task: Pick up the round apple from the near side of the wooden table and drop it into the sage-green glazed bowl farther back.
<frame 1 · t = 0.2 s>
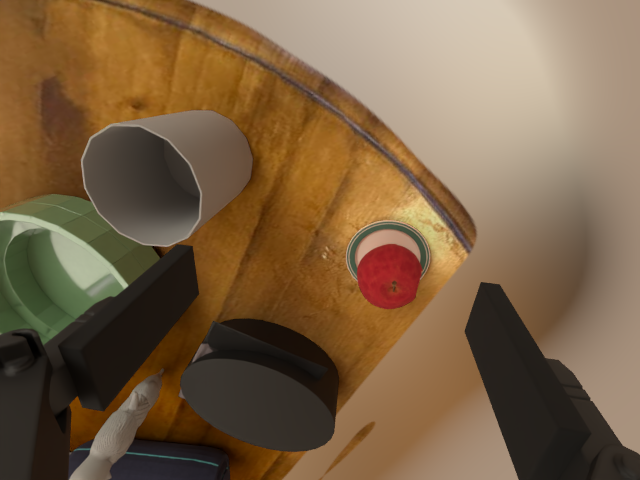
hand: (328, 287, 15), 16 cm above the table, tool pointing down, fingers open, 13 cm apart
bowl: (95, 275, 39), on the table
tape dispenser: (274, 360, 41), on the table
cup: (210, 157, 31), on the table
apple: (386, 254, 32), on the table
portable speaker: (167, 446, 53), on the table
figurine: (164, 371, 45), on the table
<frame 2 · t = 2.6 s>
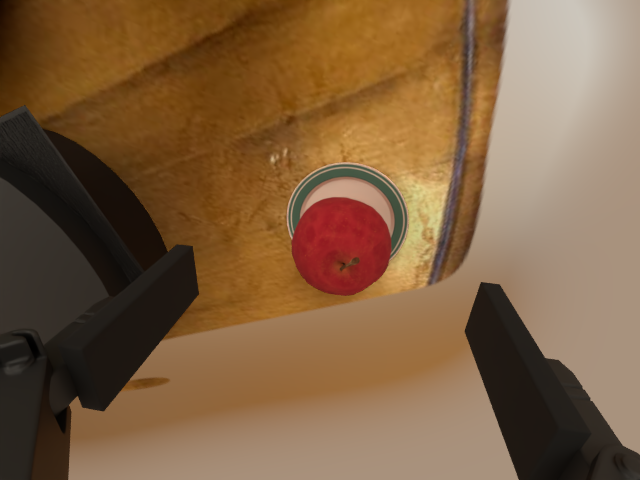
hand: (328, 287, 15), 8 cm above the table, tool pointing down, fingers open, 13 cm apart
tape dispenser: (94, 236, 26), on the table
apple: (346, 218, 22), on the table
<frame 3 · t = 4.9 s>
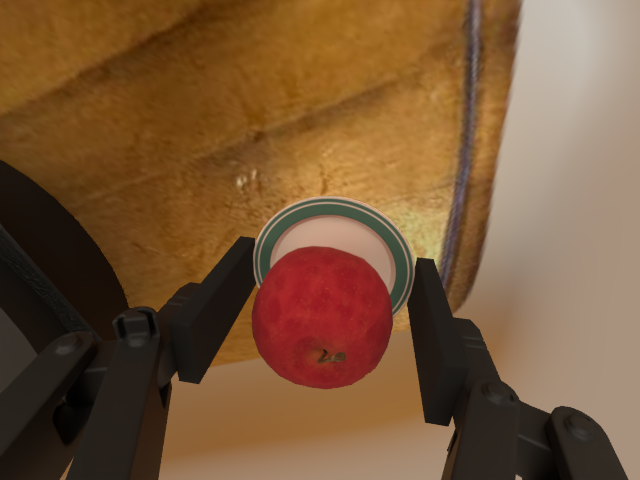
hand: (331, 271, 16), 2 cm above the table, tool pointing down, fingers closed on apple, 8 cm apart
tape dispenser: (35, 269, 22), on the table
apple: (332, 266, 17), point 2 cm above the table, touching gripper
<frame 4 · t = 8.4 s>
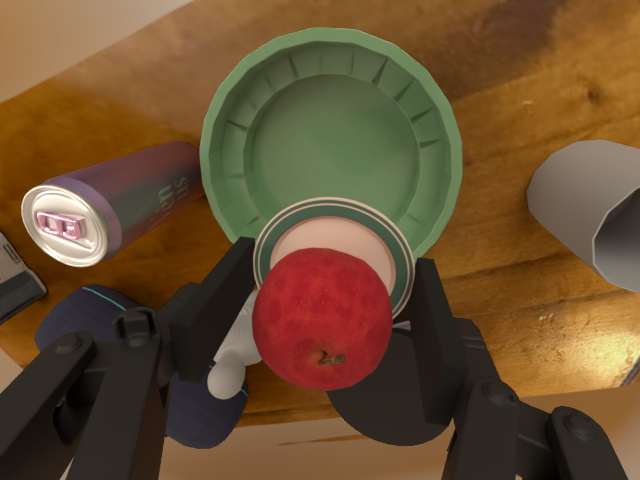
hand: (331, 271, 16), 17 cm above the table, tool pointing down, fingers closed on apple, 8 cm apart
bowl: (332, 164, 31), on the table
camera: (14, 262, 43), on the table
beverage can: (187, 169, 34), on the table
tape dispenser: (391, 348, 40), on the table
cup: (577, 187, 29), on the table
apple: (332, 267, 17), point 17 cm above the table, touching gripper
portable speaker: (174, 337, 45), on the table
figurine: (272, 285, 39), on the table
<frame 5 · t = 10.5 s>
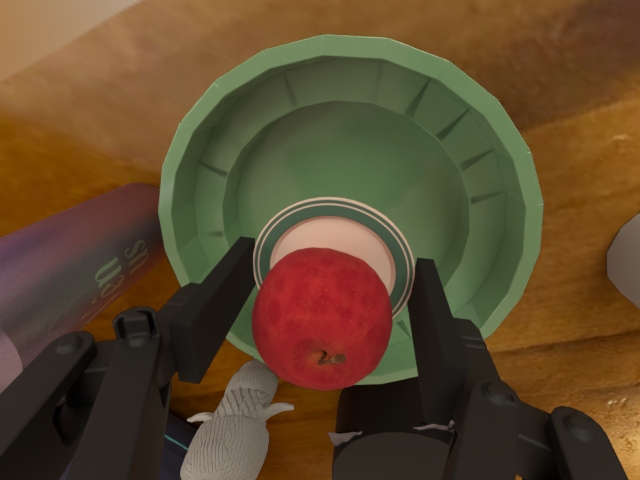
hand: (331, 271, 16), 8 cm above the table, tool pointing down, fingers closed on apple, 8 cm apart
bowl: (343, 213, 23), on the table
beverage can: (154, 215, 26), on the table
tape dispenser: (413, 427, 33), on the table
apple: (332, 267, 17), point 7 cm above the table, touching gripper
portable speaker: (149, 405, 37), on the table
figurine: (266, 353, 31), on the table
when the fingers open (4 cm above the table, at t = 12.1 s): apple drops 3 cm, resting on bowl.
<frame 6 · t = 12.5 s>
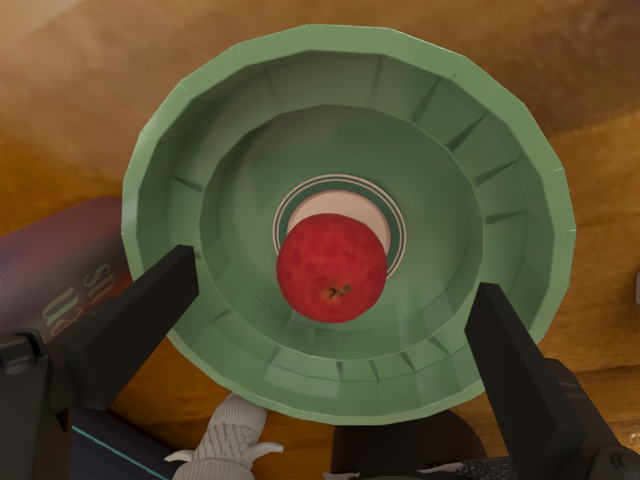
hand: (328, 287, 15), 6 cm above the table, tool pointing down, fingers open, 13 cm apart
bowl: (338, 230, 21), on the table
beverage can: (128, 231, 23), on the table
tape dispenser: (416, 457, 30), on the table
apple: (338, 234, 20), point 1 cm above the table, touching bowl
portable speaker: (130, 430, 35), on the table
figurine: (255, 378, 28), on the table
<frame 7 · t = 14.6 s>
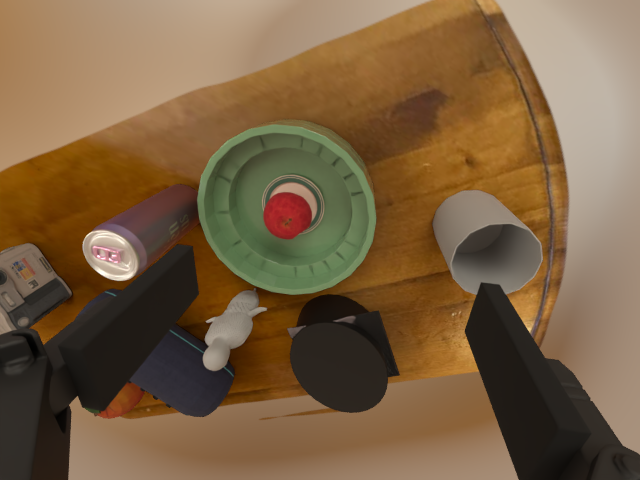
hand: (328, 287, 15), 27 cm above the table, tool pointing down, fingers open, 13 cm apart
bowl: (294, 202, 43), on the table
camera: (46, 271, 54), on the table
beverage can: (187, 203, 45), on the table
tape dispenser: (345, 338, 52), on the table
cup: (466, 221, 41), on the table
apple: (294, 204, 42), point 1 cm above the table, touching bowl
fruit: (132, 368, 62), on the table
portable speaker: (175, 331, 56), on the table
figurine: (252, 289, 50), on the table
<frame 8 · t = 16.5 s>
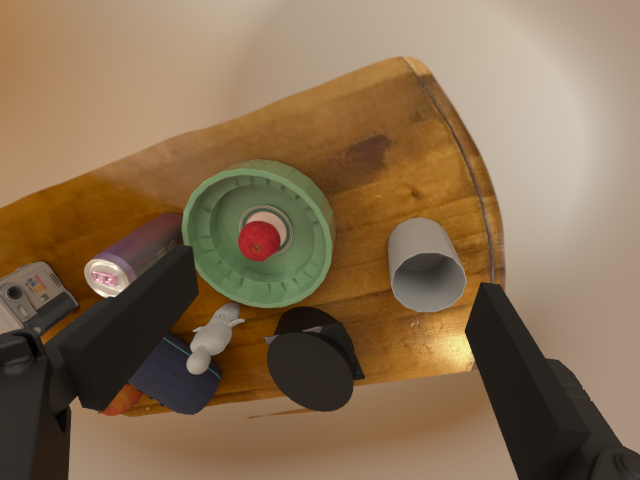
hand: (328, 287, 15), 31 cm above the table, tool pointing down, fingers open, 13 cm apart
bowl: (268, 227, 49), on the table
camera: (56, 285, 61), on the table
beverage can: (176, 227, 52), on the table
tape dispenser: (319, 345, 58), on the table
cup: (417, 244, 47), on the table
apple: (267, 229, 48), point 1 cm above the table, touching bowl
fruit: (132, 370, 69), on the table
portable speaker: (169, 338, 63), on the table
figurine: (235, 302, 56), on the table
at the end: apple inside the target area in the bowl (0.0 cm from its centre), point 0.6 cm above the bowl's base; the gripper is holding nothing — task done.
